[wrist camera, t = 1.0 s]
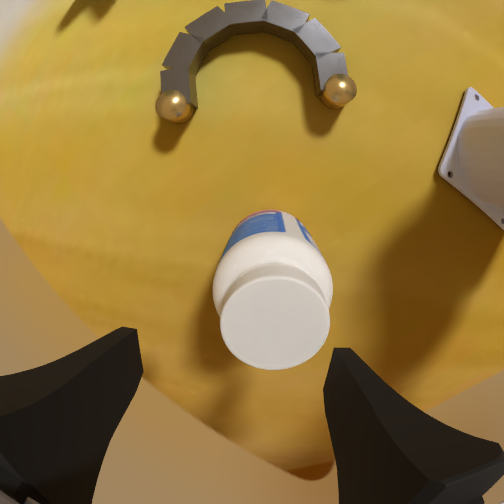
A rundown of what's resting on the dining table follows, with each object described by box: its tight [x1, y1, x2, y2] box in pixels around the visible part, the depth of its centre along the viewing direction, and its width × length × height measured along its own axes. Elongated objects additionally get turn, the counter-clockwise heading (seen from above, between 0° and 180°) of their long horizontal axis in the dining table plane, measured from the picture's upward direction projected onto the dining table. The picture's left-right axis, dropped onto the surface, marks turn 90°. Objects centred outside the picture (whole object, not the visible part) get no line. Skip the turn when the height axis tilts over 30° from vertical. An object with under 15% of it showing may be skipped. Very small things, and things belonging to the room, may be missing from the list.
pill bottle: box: [213, 210, 333, 370], centre depth 15 cm, size 6×5×10 cm
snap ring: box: [156, 0, 357, 123], centre depth 15 cm, size 8×12×2 cm, turn 96°
